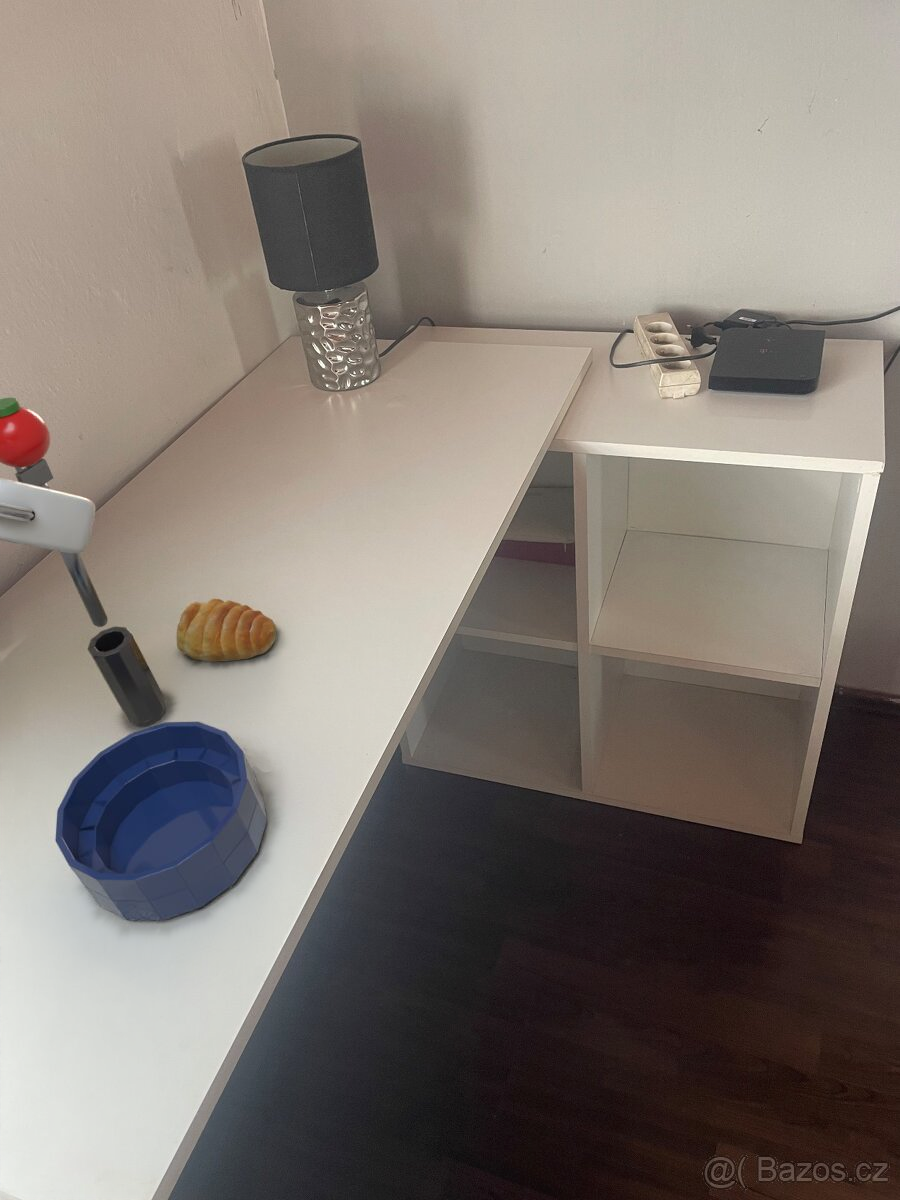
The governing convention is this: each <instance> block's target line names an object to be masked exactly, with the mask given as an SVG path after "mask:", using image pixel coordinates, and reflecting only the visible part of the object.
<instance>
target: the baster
mask: <svg viewBox="0 0 900 1200" xmlns="http://www.w3.org/2000/svg"><path fill="white" fill-rule="evenodd" d="M50 445H51V433H50V430H49V427H48V425H47V423H46V422H45V421H44V419H43V418H42V417H41V416H40V415H39V414H38V413H36V412H35V411H33V410H31V409H30V408H26V407H24V406H21V405H20V403H19V401H18V399H17V398H16V397H4V398H3V397H2V398H0V463H1V464H2V465H5V466H9V467H12V468H14V469H15V471H16V473H14V475H15V477H16V479H17V481H18V482H23V483H27V484H31V485H35V486H40V487H44V488H48V489H51V487H50V486H49V485H48V484H47V483H48V482H51V481H52V480H54V475H53V473H52V471H51V468H50V466H49V464H48V461H47V460H46V459H45V458H44V457H45V455H47V453H48V451H49V448H50ZM59 553H60V555H61V558H62V560H63V562H64V564H65V566H66V569H67V570H68V573H69V575H70V577H71V579H72V582H73V583H74V587H75V588H76V591H77V593H78V595H79V597H80V599H81V601H82V603H83V605H84V608H85V610H86V612H87V614H88V616H89V619H90V621H91V623H92V624H93V625H94V626H95V627H97V628H103V627H104V626H106V625H107V623H108V621H109V618H108V615H107V613H106V611H105V608H104V606H103V605H102V602H101V600H100V597H99V595H98V593H97V591H96V588H95V587H94V584H93V581H92V579H91V577H90V575H89V572H88V570H87V568H86V566H85V564H84V562H83V559H82V557H81V555H80V553H67V552H61V551H59Z"/></svg>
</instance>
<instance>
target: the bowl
mask: <svg viewBox="0 0 900 1200" xmlns="http://www.w3.org/2000/svg"><path fill="white" fill-rule="evenodd" d="M267 820H268V819H267V814H266V807H265V802H264V796H263V791H262V790H261V788H260V786H259V783H258V781H257V779H256V777H255V774H254V772H253V770H252V768H251V766H250V764H249V761H248V759H247V757H246V755H245V752H244V750H243V749H242V748H241V747H240V746H239V745H238V743H237V742H236V741H235V740H234V739H233V738H232V737H231V736H230V734H229V733H228V732H227V731H226V730H223V729H220V728H217V727H215V726H212V725H209V724H207V723H204V722H202V721H166V722H165V721H164V722H162V723H159V724H156V725H152V726H150V727H149V726H148V727H146V728H143V729H140V730H137V731H133V732H131V733H129V734H127V735H126V736H124V737H122V738H120V739H119V740H118V741H116V742H114V743H113V744H111V745H109V746H108V747H106V748H104V749H103V750H101V751H100V752H98V753H97V754H96V755H95V756H94V757H93V759H92V760H90V761H89V763H87V765H85V766H84V768H82V770H81V771H80V772H79V773H78V774H77V775H76V776H75V777H74V778H73V779H72V781H71V782H70V785H69V786H68V788H67V791H66V792H65V794H64V796H63V797H62V800H61V802H60V804H59V806H58V807H57V810H56V822H55V823H56V824H55V825H56V826H55V843H56V845H57V847H58V848H59V850H60V852H61V854H62V856H63V858H64V860H65V861H66V863H67V865H68V867H70V870H72V871H73V873H74V874H75V875H76V877H77V878H78V879H79V882H81V884H82V885H83V886H84V888H86V890H87V891H88V893H89V894H90V896H91V897H92V898H93V899H94V900H95V902H96V903H97V904H98V905H99V906H100V907H102V908H104V909H106V910H107V911H109V912H111V913H113V914H114V915H117V916H119V917H121V918H122V919H125V920H129V921H130V920H133V921H134V920H136V921H165V920H168V919H171V918H174V917H177V916H180V915H182V914H186V913H188V912H192V911H195V910H197V909H200V908H202V907H204V906H205V905H206V904H208V903H209V902H211V901H212V900H214V899H215V898H216V897H218V896H219V895H221V894H222V893H223V892H224V891H226V890H227V889H229V888H230V887H232V886H233V885H234V884H235V883H236V882H237V880H238V879H239V878H240V876H241V875H242V874H243V872H244V871H245V870H246V868H247V867H248V866H249V865H250V863H251V862H252V861H253V859H254V858H255V857H256V855H257V854H258V852H259V848H260V845H261V842H262V839H263V836H264V832H265V828H266V825H267Z"/></svg>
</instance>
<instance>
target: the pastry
mask: <svg viewBox="0 0 900 1200" xmlns="http://www.w3.org/2000/svg"><path fill="white" fill-rule="evenodd" d="M276 632H277V626H276V624H275V622H274V620H273V619H271V618H270V617H268V616H266V615H264V614H263V613H262V611H260V610H255V609H253V608H252V607H250V606H249V605H248V604H242V603H239V602H236V601H233V600H229V599H228V600H226V601H225V600H222V599H219V598H211V599H210V600H208V601H207V602H199V601H194V602H192V603H190V604H189V605H187V606H186V607H185V609H184V610H183V612H182V613H181V614H180V617H179V622H178V624H177V628H176V646H177V649H178V650H179V651H180V652H181V653H183V654H185V655H187V656H189V657H190V658H192V659H194V660H195V661H197V660H201V661H205V662H206V663H207V662H209V663H210V662H217V663H218V662H231V661H237V662H238V661H240V660H247V659H251V658H254V657H256V656H259V655H262V654H265V653H267V651H268V650H270V649H271V647H272V645H273V644H274V642H275V640H276Z"/></svg>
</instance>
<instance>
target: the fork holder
mask: <svg viewBox="0 0 900 1200" xmlns="http://www.w3.org/2000/svg"><path fill="white" fill-rule="evenodd" d="M87 651H88V653H89V655H90V657H91V659H92V660H93V662H94V665H95V666H96V667H97V669H98V671H99V672H100V674H101V676H102V678H103V680H104V681H105V683H106V685H107V687H108V689H109V690H110V693H111V694H112V695H113V697H114V699H115V701H116V702H117V705H118V706H119V708H120V709H121V712H122V713H123V715H124V717H125V718H126V719H127V721H128V723H129V724H130V725H132V726H134V727H138V728H143V727H144V728H145V727H149V726H151V725H154V724H155V723H157V722H158V721H160V720H161V719H162V718H163V717H164V716H165V714H166V712H167V709H168V703H167V701H166V698H165V695H164V694H163V691H162V690H161V688H160V686H159V684H158V682H157V680H156V679H155V676H154V674H153V672H152V670H151V669H150V667H149V664H148V662H147V661H146V659H145V657H144V654H143V652H142V651H141V649H140V646H139V645H138V643H137V642H136V639H135V637H134V635H133V633H132V632H131V630H130V629H128V627H125V626H117V625H115V626H112V627H109V628H106V629H102V630H101V631H99V632H98V633H97V634H96V635H94V636H93V637H92V638H91V639H90V640H89V643H88V646H87Z"/></svg>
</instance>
